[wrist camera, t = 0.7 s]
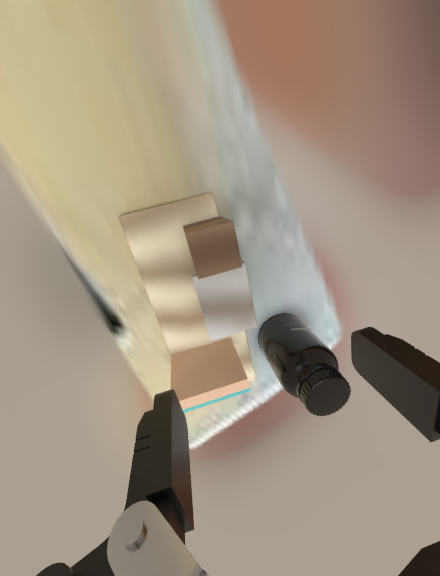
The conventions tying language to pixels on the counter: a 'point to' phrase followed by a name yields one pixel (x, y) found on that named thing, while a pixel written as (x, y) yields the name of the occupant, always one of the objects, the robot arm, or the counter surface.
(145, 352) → the counter surface
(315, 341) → the supplement bottle
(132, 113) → the counter surface
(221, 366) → the tile
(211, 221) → the brown block
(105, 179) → the counter surface
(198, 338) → the board
